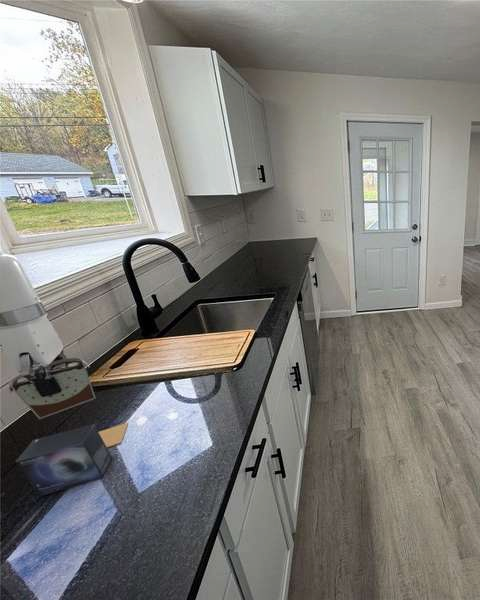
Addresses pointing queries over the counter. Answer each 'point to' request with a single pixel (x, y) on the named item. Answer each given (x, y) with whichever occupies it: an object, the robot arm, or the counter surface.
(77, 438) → the small box
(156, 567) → the counter surface
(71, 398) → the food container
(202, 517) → the counter surface
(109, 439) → the cork pad
